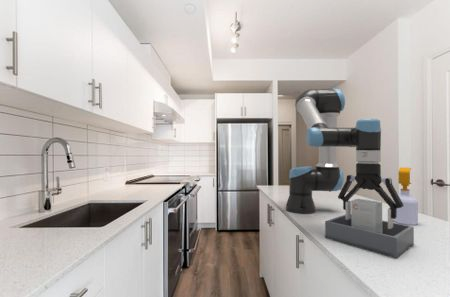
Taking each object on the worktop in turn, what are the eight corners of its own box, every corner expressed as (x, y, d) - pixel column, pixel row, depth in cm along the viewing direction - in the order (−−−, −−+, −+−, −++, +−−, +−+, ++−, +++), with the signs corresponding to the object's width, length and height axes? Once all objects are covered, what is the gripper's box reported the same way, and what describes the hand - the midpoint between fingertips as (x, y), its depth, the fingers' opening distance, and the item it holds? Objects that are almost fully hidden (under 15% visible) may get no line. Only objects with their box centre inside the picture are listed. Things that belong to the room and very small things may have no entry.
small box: (382, 239, 85) (382, 201, 85) (375, 243, 81) (375, 203, 81) (358, 233, 91) (358, 198, 91) (350, 236, 87) (350, 200, 87)
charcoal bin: (325, 237, 88) (325, 221, 89) (347, 228, 100) (347, 213, 100) (396, 258, 71) (396, 238, 72) (413, 244, 83) (413, 226, 83)
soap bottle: (418, 222, 110) (418, 167, 110) (416, 226, 103) (416, 168, 104) (394, 218, 116) (394, 166, 116) (391, 222, 109) (391, 167, 110)
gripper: (328, 161, 93) (328, 217, 93) (407, 164, 74) (407, 234, 74) (338, 161, 98) (337, 214, 98) (414, 164, 79) (414, 230, 79)
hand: (368, 223), depth 86 cm, fingers open, 13 cm apart
